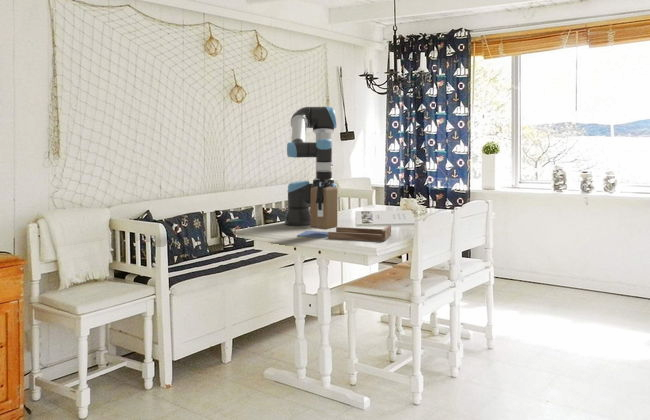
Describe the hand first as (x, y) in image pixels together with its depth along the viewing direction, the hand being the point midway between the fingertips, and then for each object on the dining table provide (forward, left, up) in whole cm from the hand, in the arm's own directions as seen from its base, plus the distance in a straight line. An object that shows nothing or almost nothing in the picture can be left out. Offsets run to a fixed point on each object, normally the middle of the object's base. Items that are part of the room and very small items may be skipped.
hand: (324, 214), depth 313 cm
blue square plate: (0, -4, -10) cm, 11 cm away
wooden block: (0, 0, -7) cm, 7 cm away
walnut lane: (0, +18, -10) cm, 20 cm away
